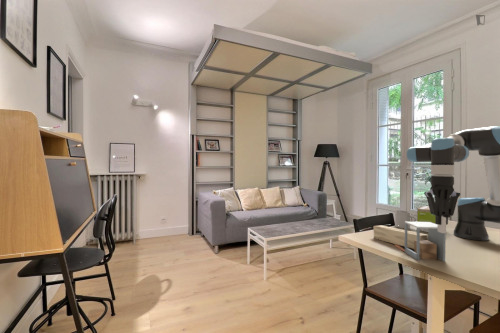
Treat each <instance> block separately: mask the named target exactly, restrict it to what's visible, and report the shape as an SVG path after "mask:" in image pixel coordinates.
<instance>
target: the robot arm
mask: <svg viewBox="0 0 500 333" xmlns="http://www.w3.org/2000/svg"><path fill="white" fill-rule="evenodd" d="M470 151H471V152H472V151H474V152H475V151H477V152H478V155H479V156H480V157H482V158H483V161H484V162H483V164H484V168H485V169H484V170H485V174H486V175H485V176H486V181H487V188H488V195H489V197H488V198H487V199H485V198H484V197H461V198H459V197H460V196H461V192H457V191H456V190H455V188H454V185H455V177H454V175H455V163H460V162H464V161H465V160H467V159H468V157H469V156H470ZM406 159H407V160H408V161H409V162H412V163H428V162H429V163H430V175H431V176H430V188H429V190H428V191H424V195H425V197H426V200H427V203H428V206H429V209H430V213H431V214H433V215H435V216H436V224H438V229H437V231H438V232H440V233H446V234H447V225H448V224H449V218H451V216H454V215H455V214H454V213H455V210H456V208H457V222H456V225H455V226H454V229H453V236H456V237H458V238H461V239H467V240H474V241H489V240H488V239H489V237H490V235H489V234H488V232H487V228H486V226H485V225H486V224H485V222H487V223H494V224H500V125H498V126H497V125H494V126H488V127H478V128H470V129H469V128H468V129H464V130H460V131H457V132H454V133H451V134H449V135H446V136H445V137H440V138H439V137H438V138H434V139H432V140H431V142H430V143H426V144H423V145H421V146H411V147H409V148H408V149H407V150H406Z"/></svg>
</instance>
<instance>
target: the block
mask: <svg viewBox="0 0 500 333" xmlns="http://www.w3.org/2000/svg"><path fill="white" fill-rule="evenodd" d="M414 252H415V253H417V240H414ZM436 256H437V244H435V243H433V242H431V241H428V240H420V259H421V260H431V261H432V260H434V261H435V260H436V261H437V258H436Z"/></svg>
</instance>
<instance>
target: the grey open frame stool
mask: <svg viewBox="0 0 500 333" xmlns="http://www.w3.org/2000/svg"><path fill="white" fill-rule="evenodd" d="M407 224H409V225H410V226H411V227H414V228H416V232H417V253H415V252H414V249H412V248H409V247H407V231H408V229H407ZM420 228H428V232H427V235H428V241H431V242H433V243H435V244H437V256H436V259H437V260H440V261H442V262H446V234H447V232H446V233H440V232H438V231H437V229H438V225H437V224H434V223H431V222H417V221H416V222H414V221H410V222H407V221H405V229H404V230H405V246H401V245H397V244H394V246H395V247H396V248H397V249H399V250H400V251H402V252H404V253H406V254H407V255H408V256H410V257H411V258H413V259H414V260H416V261H419V262H420V261H421V260H420V259H421V258H420V233H421V230H420Z"/></svg>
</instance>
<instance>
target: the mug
mask: <svg viewBox="0 0 500 333" xmlns="http://www.w3.org/2000/svg"><path fill="white" fill-rule="evenodd" d="M394 214H395V215H394V217H395V218H394V220H395V221H394V222H395V223H394V228H397V229H403V228H404V229H403V230H405V221H407V222H411V218H413V222H417V218H416V216H415V215H412V214H411V212H410V211H408V210H407V211H406V210H395V213H394ZM398 225H399V226H398ZM408 229H411V225H409V224H407V230H408Z"/></svg>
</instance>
